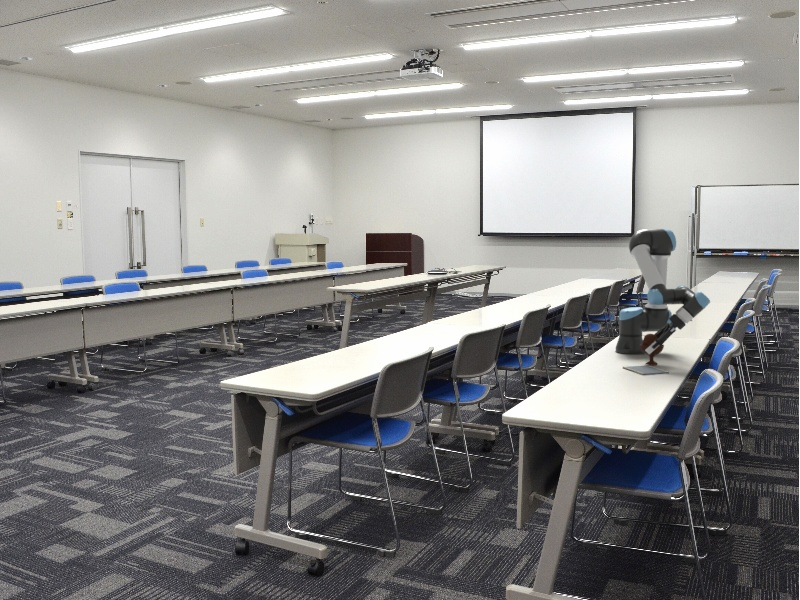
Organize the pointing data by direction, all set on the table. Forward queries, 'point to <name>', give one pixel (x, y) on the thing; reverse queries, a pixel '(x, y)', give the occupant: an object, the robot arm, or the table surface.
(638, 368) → the rubber sheet
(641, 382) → the table surface
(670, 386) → the table surface
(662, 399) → the table surface
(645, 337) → the ice cream bowl
